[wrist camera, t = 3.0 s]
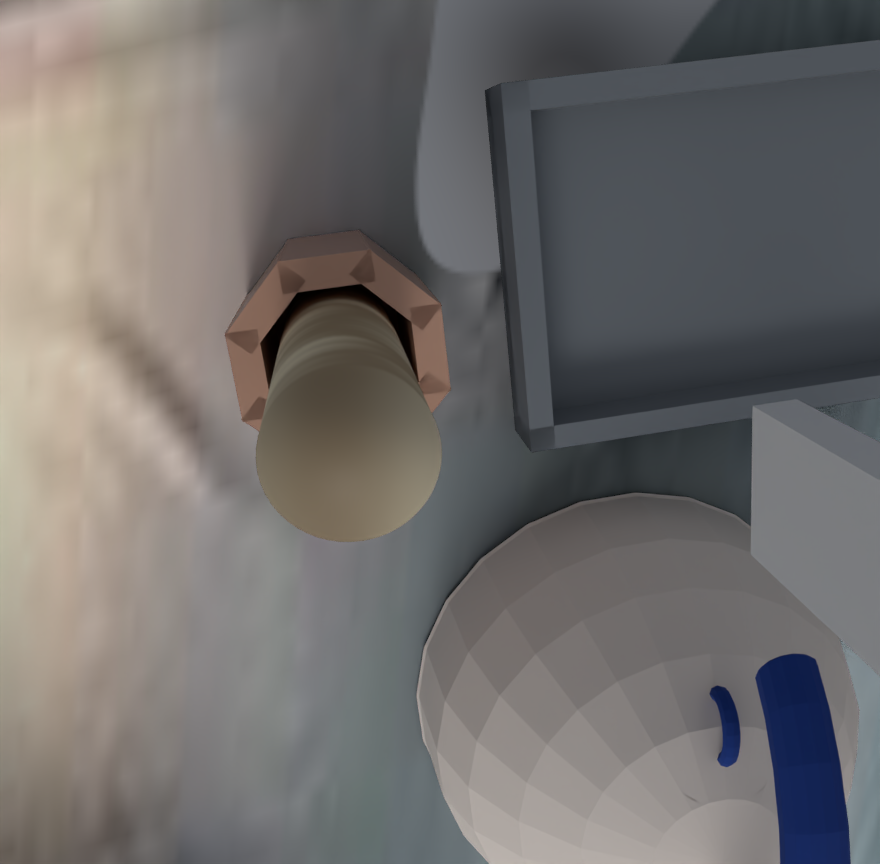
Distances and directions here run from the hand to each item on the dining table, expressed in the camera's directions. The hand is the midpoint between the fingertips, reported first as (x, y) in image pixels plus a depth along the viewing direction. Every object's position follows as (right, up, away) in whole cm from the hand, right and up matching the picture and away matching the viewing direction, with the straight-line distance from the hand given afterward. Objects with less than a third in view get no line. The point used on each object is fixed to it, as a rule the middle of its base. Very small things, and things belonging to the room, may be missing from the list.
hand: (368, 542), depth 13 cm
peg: (-3, +6, +20) cm, 21 cm away
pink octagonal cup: (-3, +6, +21) cm, 22 cm away
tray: (+15, +10, +22) cm, 28 cm away
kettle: (+10, -11, +28) cm, 32 cm away
